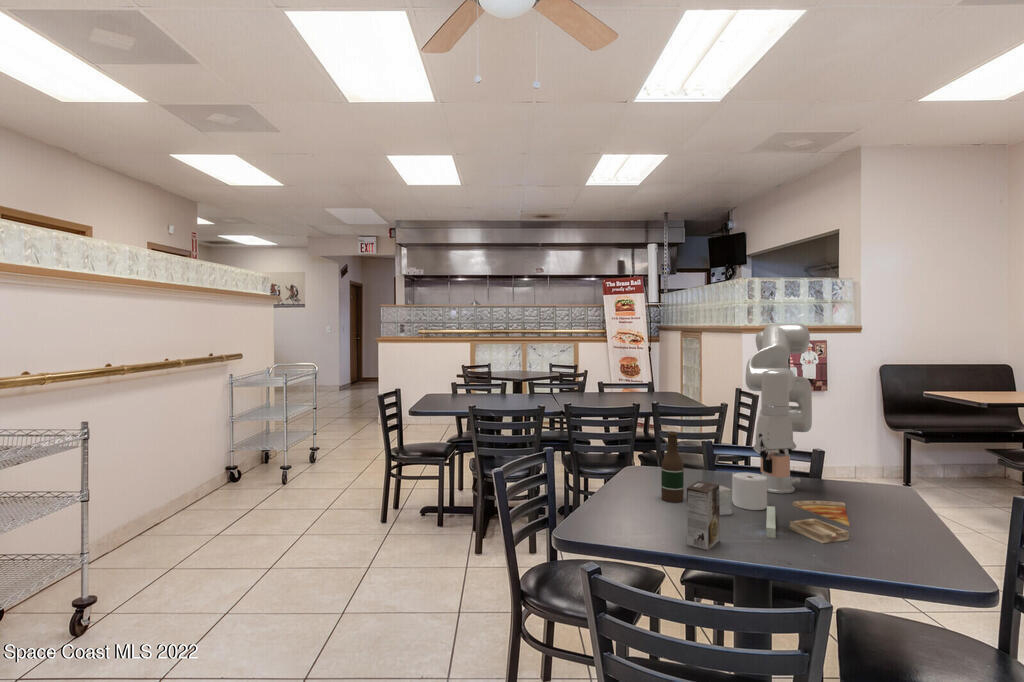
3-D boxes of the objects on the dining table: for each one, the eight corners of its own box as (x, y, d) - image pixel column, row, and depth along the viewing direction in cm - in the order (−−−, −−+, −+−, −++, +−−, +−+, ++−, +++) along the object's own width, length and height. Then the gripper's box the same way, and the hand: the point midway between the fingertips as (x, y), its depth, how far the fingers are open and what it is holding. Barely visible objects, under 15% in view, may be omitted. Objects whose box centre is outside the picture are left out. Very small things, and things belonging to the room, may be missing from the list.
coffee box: (698, 535, 161) (698, 480, 161) (720, 540, 157) (720, 484, 157) (685, 545, 154) (685, 487, 154) (708, 550, 150) (708, 491, 150)
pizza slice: (791, 520, 175) (791, 514, 175) (792, 501, 194) (792, 495, 194) (849, 528, 167) (849, 522, 167) (844, 507, 187) (844, 502, 187)
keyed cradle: (815, 525, 168) (815, 518, 168) (848, 539, 157) (848, 531, 157) (789, 529, 166) (789, 521, 166) (822, 543, 154) (822, 535, 154)
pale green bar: (766, 514, 179) (766, 505, 179) (775, 515, 178) (775, 506, 178) (766, 537, 159) (766, 527, 159) (775, 538, 158) (775, 528, 158)
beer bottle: (686, 502, 192) (686, 433, 192) (664, 502, 192) (664, 433, 192) (680, 496, 200) (680, 430, 199) (658, 496, 200) (658, 430, 200)
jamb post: (721, 509, 185) (721, 485, 184) (731, 514, 180) (731, 489, 180) (708, 510, 183) (708, 486, 183) (718, 515, 178) (718, 490, 178)
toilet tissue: (762, 512, 181) (762, 482, 181) (725, 505, 188) (725, 476, 188) (770, 504, 190) (770, 475, 190) (733, 498, 197) (734, 470, 197)
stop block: (773, 470, 171) (773, 449, 171) (789, 476, 164) (789, 454, 164) (760, 471, 170) (760, 450, 170) (776, 477, 163) (776, 455, 163)
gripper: (789, 408, 172) (789, 466, 173) (742, 410, 168) (742, 470, 169) (808, 411, 165) (807, 472, 165) (759, 414, 161) (759, 476, 161)
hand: (774, 470), depth 167 cm, fingers closed on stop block, 4 cm apart
